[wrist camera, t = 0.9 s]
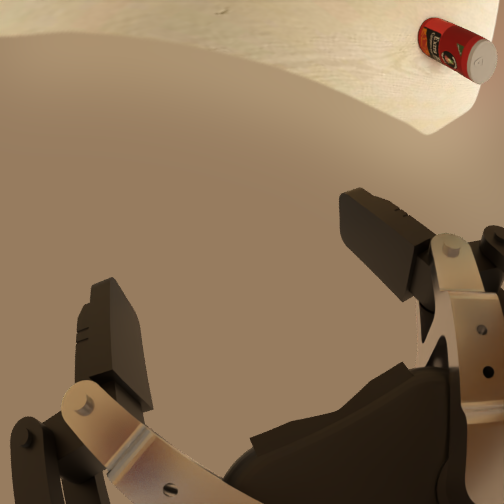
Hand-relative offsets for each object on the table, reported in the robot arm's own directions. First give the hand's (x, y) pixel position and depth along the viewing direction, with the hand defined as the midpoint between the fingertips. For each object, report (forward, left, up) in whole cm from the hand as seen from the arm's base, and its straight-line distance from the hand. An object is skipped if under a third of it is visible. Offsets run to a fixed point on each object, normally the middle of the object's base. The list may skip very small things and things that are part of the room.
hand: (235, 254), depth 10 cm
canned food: (+9, +41, -30) cm, 51 cm away
